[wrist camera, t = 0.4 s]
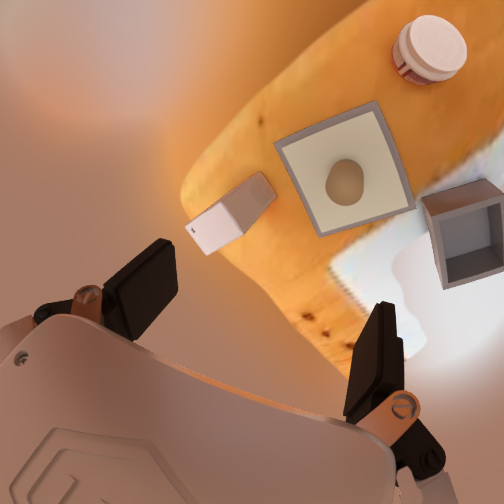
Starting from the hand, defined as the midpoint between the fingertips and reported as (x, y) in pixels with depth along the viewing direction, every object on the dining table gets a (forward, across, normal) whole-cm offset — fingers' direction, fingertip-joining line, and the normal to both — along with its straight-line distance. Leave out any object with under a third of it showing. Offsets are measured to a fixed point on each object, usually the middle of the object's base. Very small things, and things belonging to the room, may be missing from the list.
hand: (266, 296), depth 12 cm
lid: (+25, -3, 0) cm, 25 cm away
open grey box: (+25, -20, +2) cm, 31 cm away
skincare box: (+26, +9, +6) cm, 28 cm away
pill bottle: (+25, -8, -16) cm, 31 cm away
